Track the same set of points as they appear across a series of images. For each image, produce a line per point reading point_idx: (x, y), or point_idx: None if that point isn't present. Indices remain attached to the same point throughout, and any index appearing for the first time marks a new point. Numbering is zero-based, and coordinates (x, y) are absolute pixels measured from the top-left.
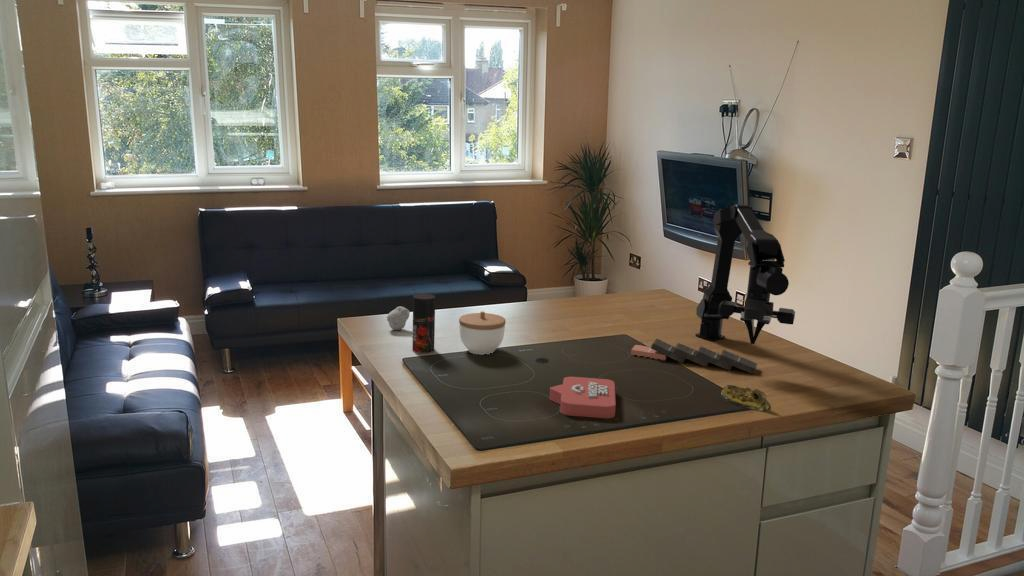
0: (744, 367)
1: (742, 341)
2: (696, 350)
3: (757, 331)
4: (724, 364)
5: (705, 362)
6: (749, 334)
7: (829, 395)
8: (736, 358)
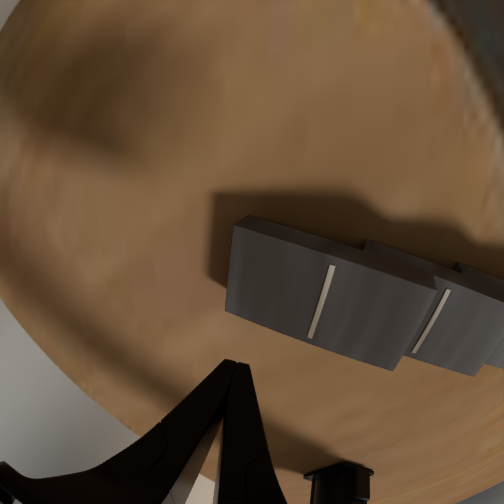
0: (296, 236)
1: None
2: None
3: (168, 443)
4: (399, 258)
5: (471, 274)
6: (258, 428)
7: (12, 87)
8: (337, 302)
